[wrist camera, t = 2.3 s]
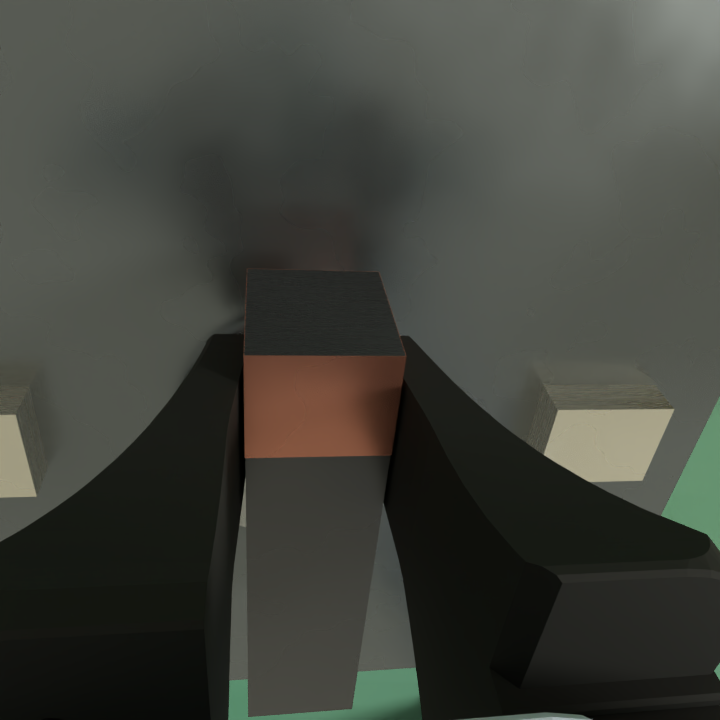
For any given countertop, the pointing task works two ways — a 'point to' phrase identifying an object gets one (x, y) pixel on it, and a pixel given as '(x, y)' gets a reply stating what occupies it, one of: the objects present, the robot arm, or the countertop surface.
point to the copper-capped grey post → (314, 477)
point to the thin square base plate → (362, 221)
